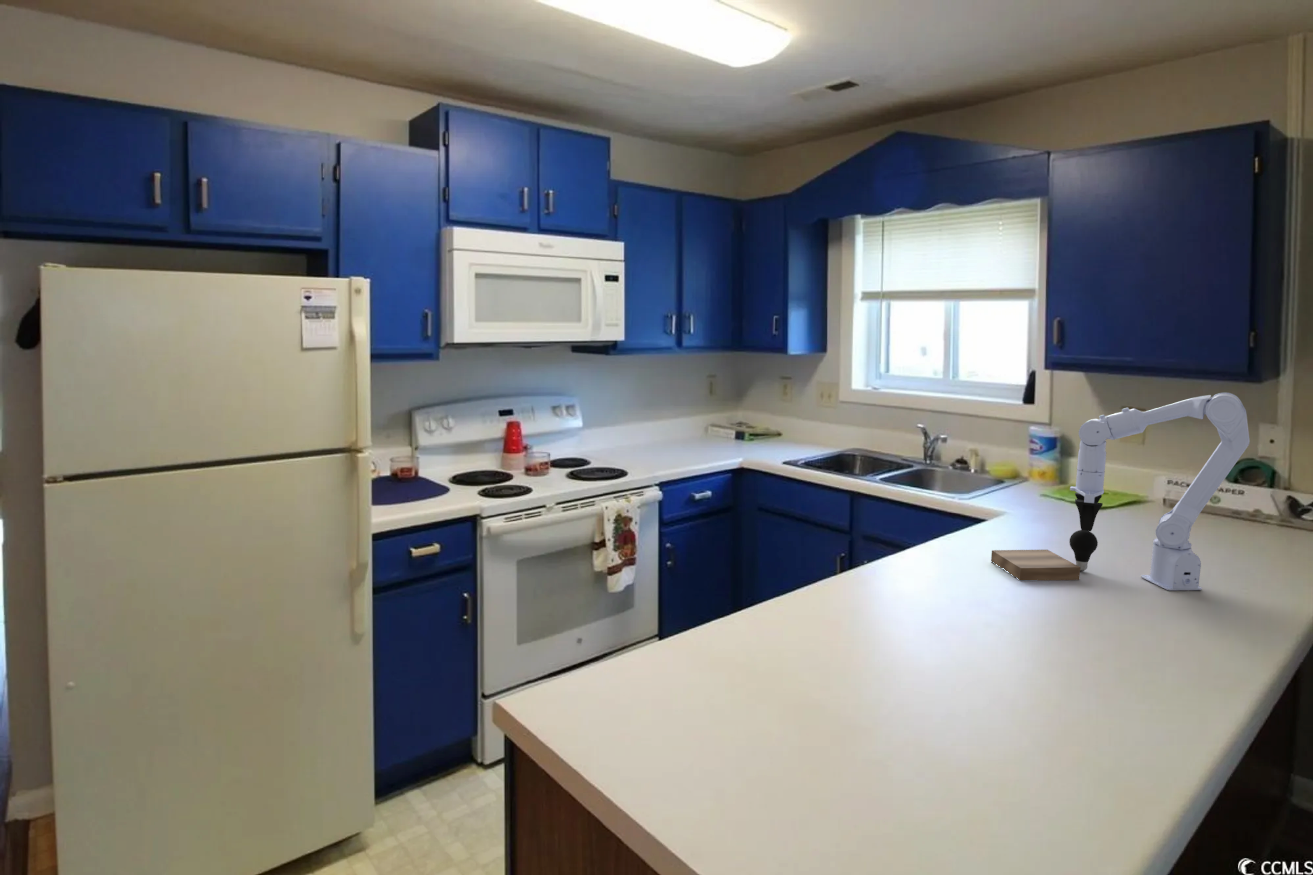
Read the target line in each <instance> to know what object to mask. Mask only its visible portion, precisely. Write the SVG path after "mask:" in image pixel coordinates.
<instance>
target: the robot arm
mask: <svg viewBox="0 0 1313 875" xmlns="http://www.w3.org/2000/svg"><path fill="white" fill-rule="evenodd" d="M1205 415H1206V417H1207V419H1208V420H1209V421H1210V423H1211V424H1212V425H1213V426H1214V427H1215V428H1216V429H1217V433H1218V436H1219V438H1220V443H1219V444H1218V445H1217V447H1216V448H1215V450H1214V451H1213V452H1212V454H1211V455H1210V457H1209V458H1208V460H1207V461H1206V462H1205V464H1204V465H1203V466H1202V468H1201V470H1200V471H1199V472H1198V473H1197V475H1196V476H1195V478H1194V479H1193V480H1192V482H1191V484H1190V485H1189V487H1188V488H1186V490H1185V492H1184V494H1183V495H1182V496H1181V497H1180V499H1179V500H1178V501H1177V502H1176V504H1175V506H1173V508H1172V509H1171V510H1170V511H1169V512H1166V513H1165V514H1163V515H1162V516H1161V517H1160V518H1159V520H1158V525H1157V526H1156V528H1155V537H1156V538H1154V539H1153V541H1152V550H1151V551H1152V552H1151V562H1150V574H1140V577H1141V578H1142V579H1145V580H1146V581H1148V582H1150V583H1152V584H1154V585H1156V586H1159V587H1160V588H1163V589H1165V590H1167V591H1202V590H1203V587H1201V586H1200V577H1201V568H1202V561H1201V558H1200V557H1199V555H1197V554H1196V553H1194V551H1193V549H1192V545H1193V544H1192V543H1191V542H1190V541H1189V539H1190V537H1191V536H1190V534H1191V530H1192V527H1193V525H1194V524H1195V522H1196V521H1197V519H1198V517H1199V515H1200V514H1201V512H1202V511H1203V510H1204V508H1205V507H1206V505H1207V504H1208V503H1209V502H1210V500H1211V499H1212V498H1213V496H1214V494H1215V493H1216V492H1217V490H1218V489H1219V487H1220V486H1221V485H1222V483H1223V482H1224V481H1225V479H1226V478H1227V476H1228V475H1229V473H1230V472H1231V470H1233V468H1234V466H1235V465H1236V463H1237V462H1238V461H1239V459H1240V458H1241V456H1242V455H1243V454H1244V453H1245V451H1246V449H1248V447H1249V445H1250V443H1251V441H1250V440H1251V439H1250V432H1249V425H1248V424H1249V423H1248V416H1247V415H1248V414H1247V410H1246V408H1245V406H1244V405H1243V402H1242V400H1241V399H1240V398H1239V397H1238V396H1237V395H1235V394H1234V393H1231V392H1219V393H1216V394H1214V395H1211V394H1208V395H1207V394H1206V395H1200V396H1195V397H1191V398H1187V399H1184V400H1183V399H1182V400H1179V401H1176V402H1174V403H1170V404H1166V405H1163V406H1160V407H1156V408H1152V409H1150V410H1146V411H1145V410H1144V411H1142V410H1139V409H1137V408H1131V409H1130V408H1129V407H1124V408H1122V409H1121V411H1119V412H1115V413H1113V414H1108V415H1105V414H1101V415H1099V416H1098V417H1099V418H1092V419H1089V420H1087V421H1085V422H1084V423H1082V424H1081V426H1080V428H1079V430H1078V437H1079V439H1080V442H1079V449H1078V455H1077V468H1076V478H1075V479H1076V480H1075V486H1072V485H1071V486H1070V487H1069V491H1072V492H1073V491H1074V492H1075V493H1074V496H1075V497H1076V498H1075V500H1074V503H1075V506H1076V508H1077V510H1078V514H1079V515H1078V516H1079V525H1080V526H1079V527H1080V530H1085V531H1090V532H1092V530H1093V528H1094V524H1095V521H1096V518H1097V515H1098V513H1099V511H1100V510H1101V509H1102V507H1103V505H1104V504H1103V502H1099V501H1100V500H1101V498H1102V496H1103V494H1104V493H1105V490H1104V483H1105V472H1106V462H1107V450H1106V449H1107V448H1106V446H1107V441H1106V440H1111V441H1114V440H1118V439H1122V438H1125V437H1129V436H1134V435H1135V436H1136V435H1138V434H1143V433H1144V431H1145V430H1146V428H1147V427H1148V426H1149V425H1154V424H1158V423H1163V422H1168V421H1172V420H1177V419H1180V418H1184V417H1185V418H1186V417H1190V418H1195V419H1198V420H1203V419H1204V416H1205Z"/></svg>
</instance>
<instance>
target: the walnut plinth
mask: <svg viewBox="0 0 1313 875" xmlns="http://www.w3.org/2000/svg"><path fill="white" fill-rule="evenodd" d="M991 561H992V562H994V563H995V564H997V565H998V566H1000V567H1001V568H1004V569H1005V570H1006V571H1008V572H1009V573H1010V574H1012V575H1013V576H1015V577H1017V578H1018V579H1019V580H1037V581H1079V580H1080V576H1081V575H1080V573H1081V571H1080V567H1079V566H1077V565H1076V563H1073V562H1071V561H1069V560H1068V559H1067V558H1064V557H1062V556H1061V555H1058V554H1056V553H1054V552H1053V551H1050V550H1049V549H1001V550H1000V549H995V550H993V549H992V550H991V557H990V562H991ZM992 562H991V563H992ZM995 564H994V565H995ZM998 566H997V567H998ZM1001 568H1000V569H1001ZM1009 573H1008V574H1009ZM1010 574H1009V575H1010ZM1012 575H1011V576H1012ZM1013 576H1012V577H1013ZM1015 577H1014V578H1015ZM1018 579H1017V580H1018ZM1019 580H1018V581H1019Z"/></svg>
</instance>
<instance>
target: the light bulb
mask: <svg viewBox="0 0 1313 875" xmlns="http://www.w3.org/2000/svg"><path fill="white" fill-rule="evenodd" d="M1068 541H1069V546H1070V549H1071V550H1072V551H1073V554H1074V559H1075V565H1077V566H1079V567H1080V573H1081V572H1084V571H1086V570H1087V569H1088V563H1089V560H1090V558H1091V555H1093V553H1094V552H1095V551H1096V550H1097V548H1098V545H1099V544H1098V543H1099V542H1098V541H1099V540H1098V539H1097V537H1096V535H1095V534H1094V533H1093V532H1092V531H1085V530H1081V529H1079V530H1077V531H1074V532H1073V533H1072V534H1071V536H1070V537H1069V540H1068Z"/></svg>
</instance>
